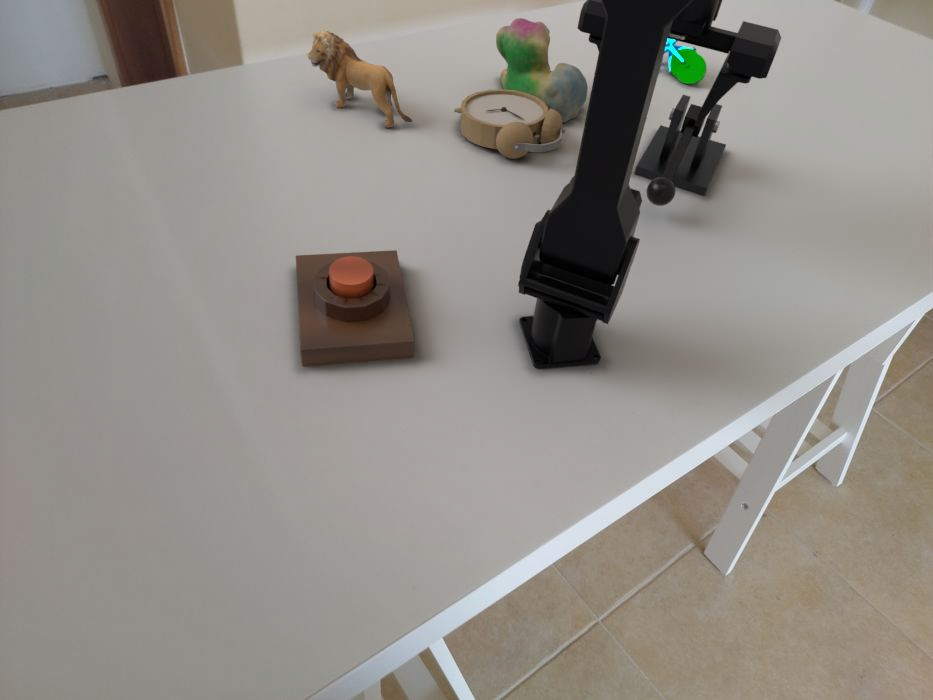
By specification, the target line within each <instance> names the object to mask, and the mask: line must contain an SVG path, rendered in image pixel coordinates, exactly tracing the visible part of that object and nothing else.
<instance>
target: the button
mask: <svg viewBox="0 0 933 700" xmlns="http://www.w3.org/2000/svg"><path fill="white" fill-rule="evenodd" d="M329 280H330V288H331V290H332V292H333V293H334V294H336V295H337V296H340V297H343V298H346V299H350V298H361V297H363V296H365V295H367V294H369V293H370V292H371V291H372V289H373V285H374V280H373V267H372V265H371V264H370V263H369V262H368V261H367V260H365V259H363V258H360V257H353V256H349V257H343V258H340V259H338V260H336V261H334V262H333V263H332V264H331V266H330V268H329Z"/></svg>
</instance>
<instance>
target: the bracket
mask: <svg viewBox="0 0 933 700" xmlns="http://www.w3.org/2000/svg"><path fill="white" fill-rule="evenodd" d="M690 100H691V96H690V95H687V94H682V95H681V97H680V99H679V101H678V102H677V104H676V106H675V107H674V108H672V109H671V110H670V113H669V115H668V116H669V117H668V120H669V121H670V123H669V126H665V125H659V127H658V129H657V131H656V132H655V133H654V135H653V137H652V139H651V141H650V142H649V144H648V145H647V148H646V149H645V151H644V153H643V154H642V156H641V158H640V160H639V161H638V163H637V165H636V166H635V169H634V175H636V176H639V177H643V178H645V179H647V180H651V181H652V180H653V179H655V178H658V177H662V176H663V174H664V172H665V170H666V167H667V165H668V163H669V161H670V159H671V157H672V155H673V153H674V151H675V149H676V146H677V144H678V142H679V140H680V138H681V136H682V134H683V133H681V132H680V131H681V128H682V125H683V121H684V118H685V115H686V113H687V111H688V108H689V107H688V106H689V104H690ZM722 108H723V105H722V104H719V103H717V104H716V105H715V106H714V107H713V109H712V110H711V111H710V112H709V114H708V115H707V117H706V119H705V122H704V125H703V129H702V130H701V131H702V132H701V135H700V136H699V135H698V137H694V136H692V138H691V140H690V142H689V145H688V147H687V149H686V151H685V153H684V155H683V157H682V160H681V162H680V164H679V166H678V168H677V170H676V173H675V175H674V177H673V179H672V182H673V183H674V185H675V188H677V189H680V190H683V191H686V192H689V193H693V194H696V195H699V196H702V197H705V196H706V193H707V192H708V189H709V186H710V184H711V183H712V180H713V178H714V174H715V172H716V170H717V168H718V166H719V164H720V162H721V159H722V157H723V154H724V152H725V149H726V146H727V143H722V142H719V141H717V140H712V136H713V134H717V132H718V129H719V128H720V124H721V121H718V119H719V117H720V114H721V111H722Z"/></svg>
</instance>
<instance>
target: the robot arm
mask: <svg viewBox="0 0 933 700" xmlns="http://www.w3.org/2000/svg"><path fill="white" fill-rule="evenodd" d="M722 3H723V0H586V1H585V2H583V4H582V7H581V9H580V13H579V18H578V23H577V29H578V31H580V32H581V33H584V34H588V35H589V36H588V42H589V43H591V44H593V45H596V48H597V50H598V55H597V60H596V66H595V70H594V75H593V80H592V85H591V91H590V96H589V100H588V106H587V111H586V115H585V121H584V125H583V130H582V136H581V141H580V146H579V150H578V151H579V152H578V156H577V160H576V166H575V171H574V176H572V178H571V179H570V181H569V183H567V184H566V185H565V186H563V189H562V190H561V192H560V194H559V195H558V198H557V199H556V201H555V202H554V204H553V206H552V207H551V209H547V210H546V212H545V213H544V215H543V217H542V218H541V220H539V221H538V222H535V224H534V227H533V230H532V233H531V236H530V239H529V241H528V245H527V248H526V250H525V253H524V256H523V259H522V263H521V267H520V273H519V279H518V282H517V283H518V284H517V286H518V294H521V295H523V296H524V295H527V296H530V297H533V298H535V299H536V302H535V307H534V311H533V315H526V316H521V317H519V320H518V324H519V327H520V330H521V333H522V336H523V339H524V342H525V345H526V348H527V351H528V354H529V357H530V360H531V363H532V365H533V367H534V368H536V369H549V368H551V369H552V368H563V367H573V366H584V365H585V366H586V365H596V364H597V365H598V364H599V363H601V360H602V356H601V353H600V351H599V348H598V346H597V344H596V342H595V340H594V337H593V335H594V331H595V329H596V325H597V321H601V322H602V323H603V324H605V325H609V323H610V321H611V319H612V317H613V315H614V312H615V310H616V308H617V306H618V303H619V301H620V299H621V297H622V294H623V292H624V290H625V286H626V283H627V280H628V276H629V273H630V271H631V268H632V266H633V263H634V261H635V257H636V254H637V251H638V249H639V245H640V242H641V239H640V238H638V237H635V233H636V229H637V226H638V221H639V218H640V215H641V206H642V204H643V203H642V202H643V199H642V193H641V191H640V190H637V189H634V188H631V187H630V180H631V176H632V173H633V169H634V166H635V162H636V158H637V154H638V150H639V147H640V144H641V139H642V137H643V136H642V135H643V132H644V129H645V125H646V122H647V117H648V114H649V110H650V108H651V103H652V99H653V95H654V92H655V87H656V85H657V81H658V77H659V73H660V70H661V67H662V63H663V58H664V56H665V54H664V51H665V48H666V44H667V40H668V38H669V39H673V40H677V42H680V43H684V44H689V45H692V46H696V47H701V48H705V49H708V50H712V51H716V52H719V53H724V54H727V55H726V58H725V60H724V61H723V63H722V65H721V67H720V70H719V72H718V73H717V76H716V77H715V78H714V79H715V80H714V82H713V84H712V85H711V88H710V89H709V91H708V93H707V96H706V97H705V99H704V102H703V104H701V105H702V106H701V110H700V112H699V114H698V117H697V120H696V123H695V125H696V126H699V125H700V124H701V122H702V121H703V120H704V119H705V120H706V118H707V117H708V116H709V114H710V112H711V110H712V109H713V107H714V106H715V105H716V104H718V103H719V101H721V99H722V98H723V97H724V96H725V95H726V94H728V92H729V91H731V90H732V89H733V88H734V87H735V86H736V85H737V84H738V83H740V84H749V83H750V82H751V80H752V78H754V79H759V80H761V79H767V78H768V76H769V73H770V70H771V67H772V64H773V62H774V60H775V57H776V54H777V52H778V49H779V46H780V44H781V41H782V36H781V33H780V31H779V29H778V28H777V29H776V28H773V27H769V26H765V25H761V24H756V23H753V22H748V21H744V20H742V22H741V25H740V27H739V29H738V31H737V32H736V31H731V30H727V29H724V28H720V27H716V26H712V25H713V22H715V21H716V20H717V18H718V16H719V12H720V9H721V6H722ZM705 117H706V118H705Z"/></svg>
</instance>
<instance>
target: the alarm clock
mask: <svg viewBox="0 0 933 700" xmlns="http://www.w3.org/2000/svg"><path fill="white" fill-rule="evenodd" d="M453 110H454V112H453V113H458V114H460V125H459V126H460V127H459V130H460V132H461V134H462V136H463V137H464V138H465V139H467V141H469V142H470V143H473V144H475V145H478V146H480V147H484V148H488V149H492V150H498V152H499V153H500V155H502V156H503V157H505V158H507V159H511V160H512V159H513V160H517V159H520V158H523V157H524V156H526V155H527V154H528V153H529V152H531V153H545V152H550V151H553V150H555V149H557V148H559V147H560V146H561V145H562V142H563V141H562V140H563V134H565V133H566V129H565V128H564V125H563V123H562V118H561V115H560V114H559V113H558V112H557V111H556V110H553V109H550V110H549V111H548V107H547V106H546V104H545V103H544V102H543V101H542V100H540V99H539V98H537V97H535V96H533V95H530V94H528V93H524V92H520V91H515V90H505V89H502V88H498V89H497V88H495V89H485V90H481V91H476V92H473V93H472V94H469V95H467V96H466V97H465V98H464V99H463V100H462V101H461V105H460V107H457V108H454V109H453ZM539 143H540V144H539Z"/></svg>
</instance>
